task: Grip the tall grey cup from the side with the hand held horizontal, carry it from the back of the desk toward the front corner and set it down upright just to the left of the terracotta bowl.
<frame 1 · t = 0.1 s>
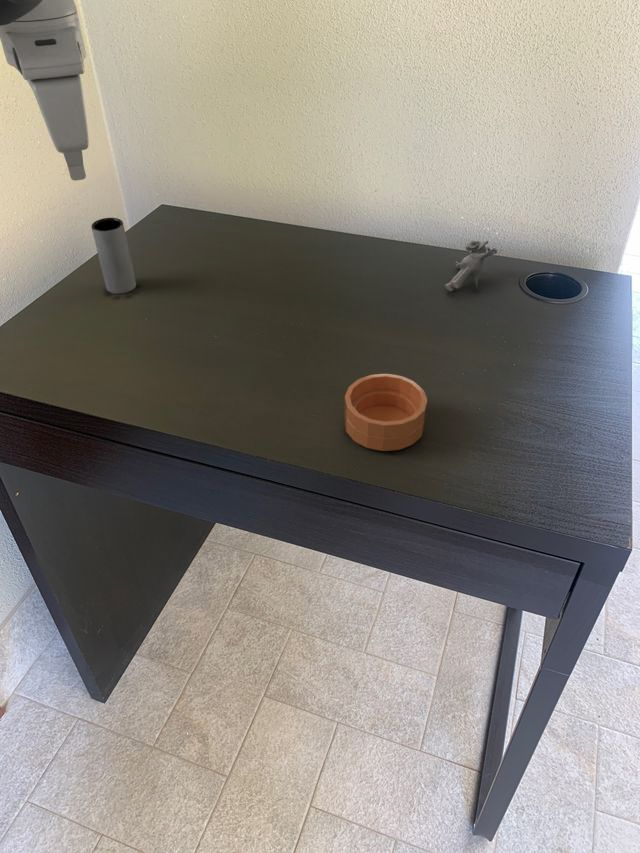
hand: (73, 164, 87), 21 cm above the table, tool pointing down, fingers open, 8 cm apart
tall grey cup: (121, 288, 106), on the table
grey figurine: (470, 284, 106), on the table
bowl: (384, 427, 80), on the table
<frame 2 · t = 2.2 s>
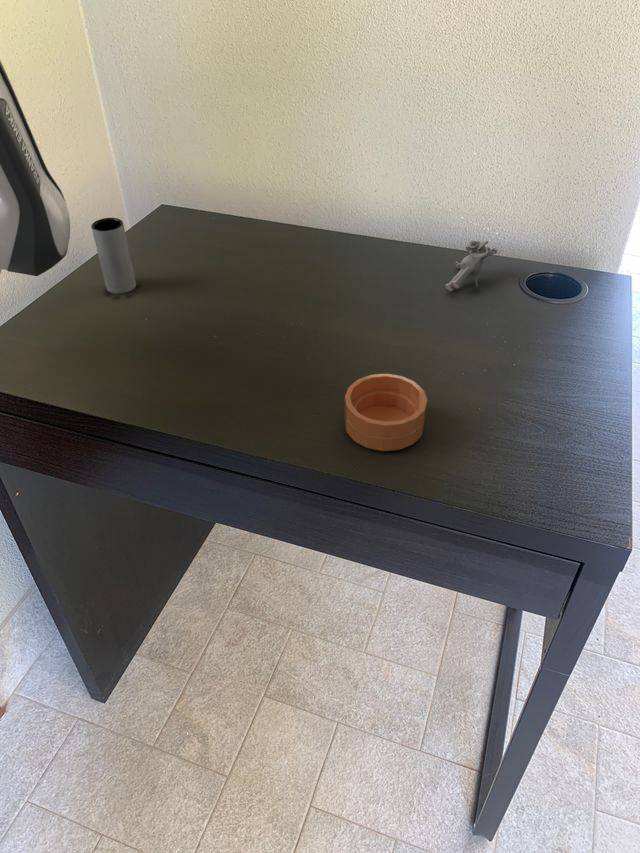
nothing on the table moved.
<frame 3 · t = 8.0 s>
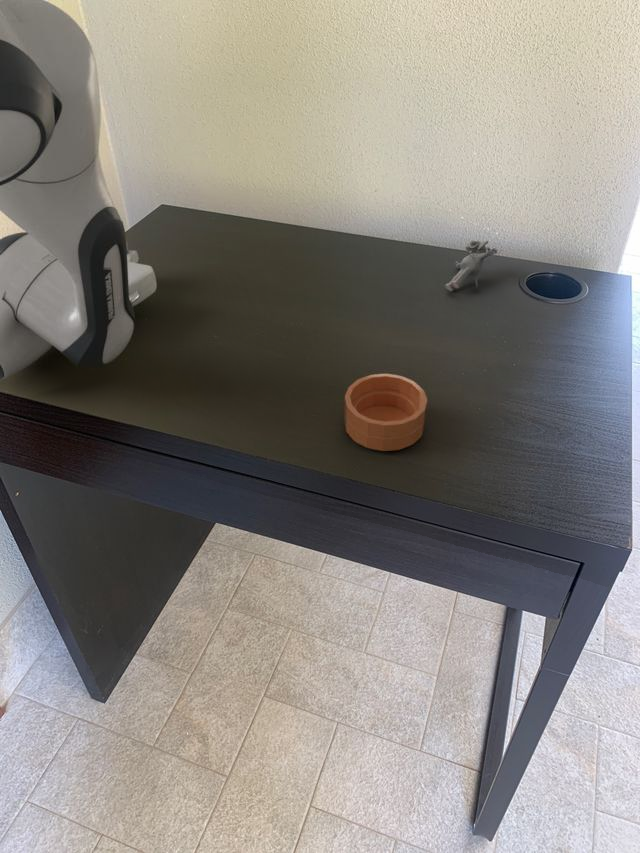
hand: (117, 251, 103), 6 cm above the table, tool horizontal, fingers closed on tall grey cup, 4 cm apart
tall grey cup: (121, 288, 106), on the table, touching gripper
everything else where it was.
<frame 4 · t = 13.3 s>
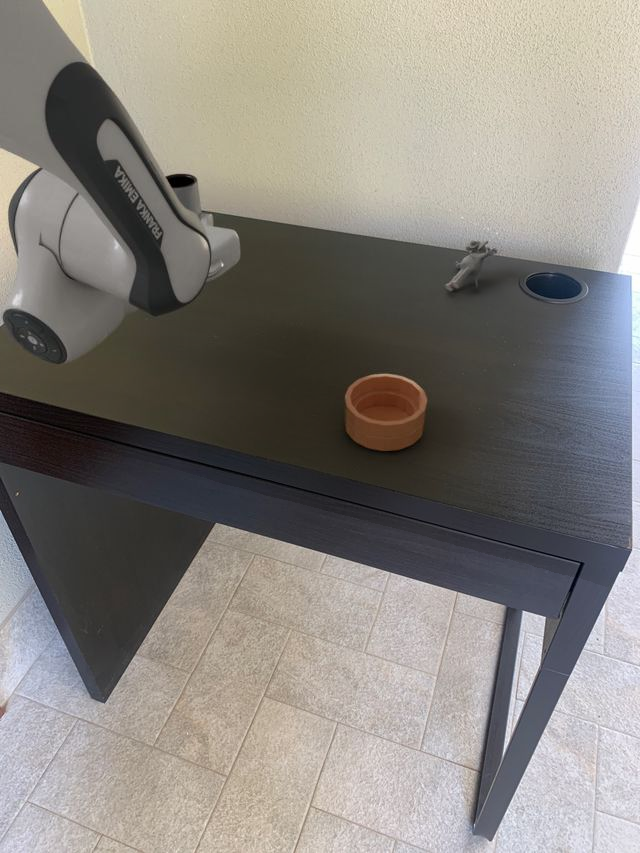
hand: (186, 215, 86), 17 cm above the table, tool horizontal, fingers closed on tall grey cup, 4 cm apart
tall grey cup: (189, 260, 89), point 11 cm above the table, touching gripper
everything else where it was.
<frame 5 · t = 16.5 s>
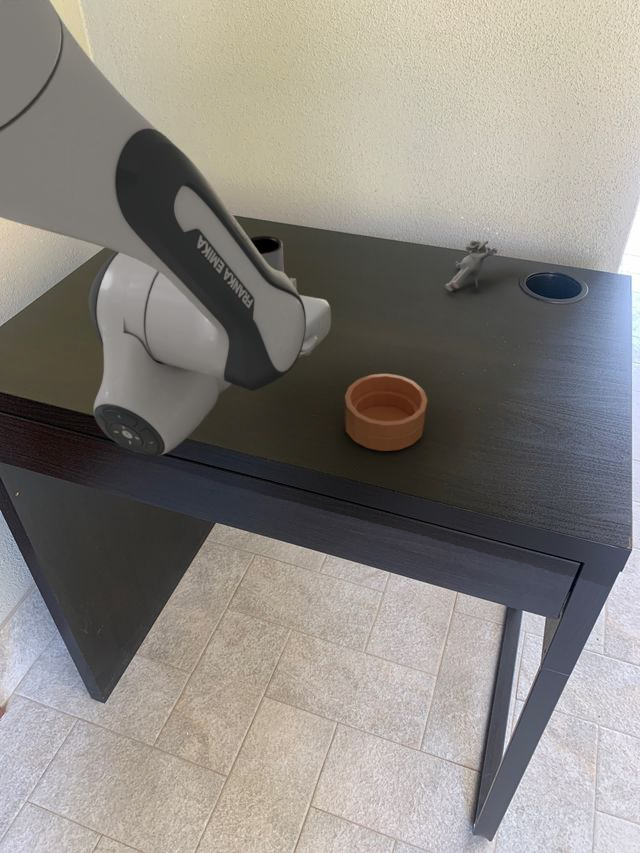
hand: (267, 278, 81), 13 cm above the table, tool horizontal, fingers closed on tall grey cup, 4 cm apart
tall grey cup: (268, 323, 84), point 7 cm above the table, touching gripper
everything else where it was.
when the fingers open (6 cm above the table, at t = 19.0 s): tall grey cup stays where it is, on the table.
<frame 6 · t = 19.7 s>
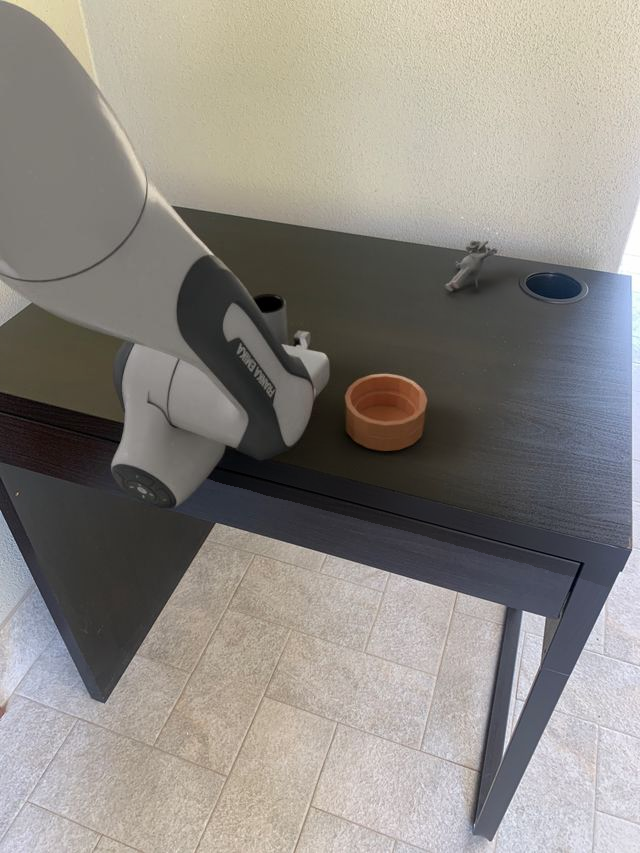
hand: (269, 328, 86), 6 cm above the table, tool horizontal, fingers open, 8 cm apart
tall grey cup: (271, 372, 89), on the table
everything else where it was.
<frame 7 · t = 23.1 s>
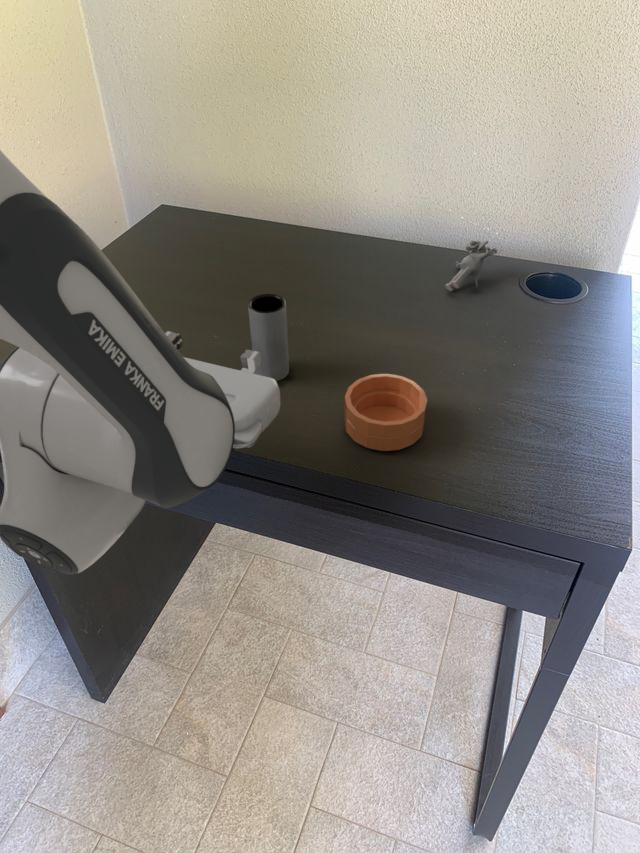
hand: (214, 346, 73), 12 cm above the table, tool horizontal, fingers open, 8 cm apart
nothing on the table moved.
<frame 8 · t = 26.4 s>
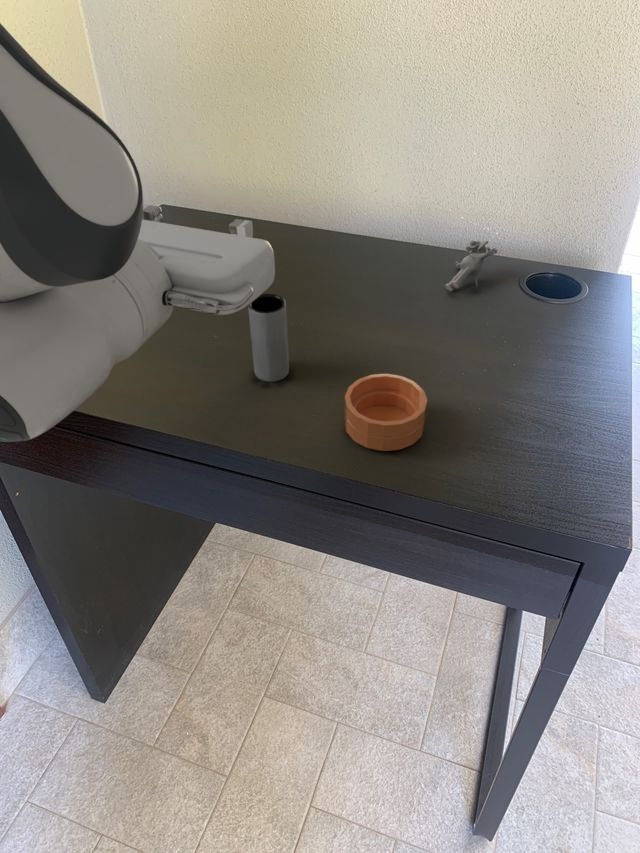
hand: (199, 219, 63), 26 cm above the table, tool horizontal, fingers open, 8 cm apart
nothing on the table moved.
at the end: tall grey cup inside the target area on the table beside the bowl (0.2 cm from its centre), on the table; tall grey cup tilted 0°; the gripper is holding nothing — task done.
